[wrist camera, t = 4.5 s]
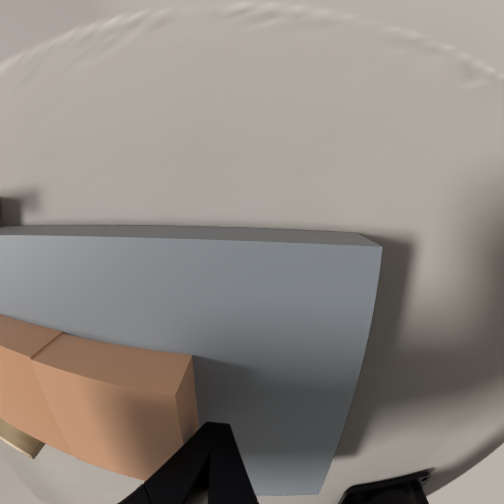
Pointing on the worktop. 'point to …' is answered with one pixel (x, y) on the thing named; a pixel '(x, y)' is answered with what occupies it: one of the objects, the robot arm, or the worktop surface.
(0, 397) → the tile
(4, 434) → the tray
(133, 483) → the worktop surface
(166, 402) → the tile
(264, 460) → the slate board
